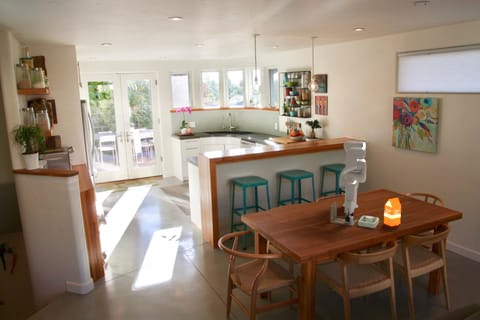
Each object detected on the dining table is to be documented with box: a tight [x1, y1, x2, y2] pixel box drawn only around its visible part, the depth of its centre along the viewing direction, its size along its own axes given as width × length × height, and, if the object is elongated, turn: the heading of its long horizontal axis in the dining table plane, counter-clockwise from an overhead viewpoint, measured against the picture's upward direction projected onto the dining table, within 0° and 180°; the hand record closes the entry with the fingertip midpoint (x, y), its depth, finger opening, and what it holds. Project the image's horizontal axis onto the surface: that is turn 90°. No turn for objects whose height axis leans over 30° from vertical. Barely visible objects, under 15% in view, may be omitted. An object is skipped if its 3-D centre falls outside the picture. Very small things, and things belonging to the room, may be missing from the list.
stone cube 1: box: [366, 215, 374, 223], centre depth 299 cm, size 4×4×4 cm
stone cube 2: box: [346, 216, 354, 224], centre depth 301 cm, size 4×4×4 cm
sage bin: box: [357, 215, 380, 229], centre depth 297 cm, size 14×12×4 cm
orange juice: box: [383, 197, 402, 227], centre depth 296 cm, size 8×9×20 cm
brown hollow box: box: [329, 200, 359, 227], centre depth 302 cm, size 15×17×14 cm
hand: (349, 219), depth 300 cm, fingers open, 9 cm apart
